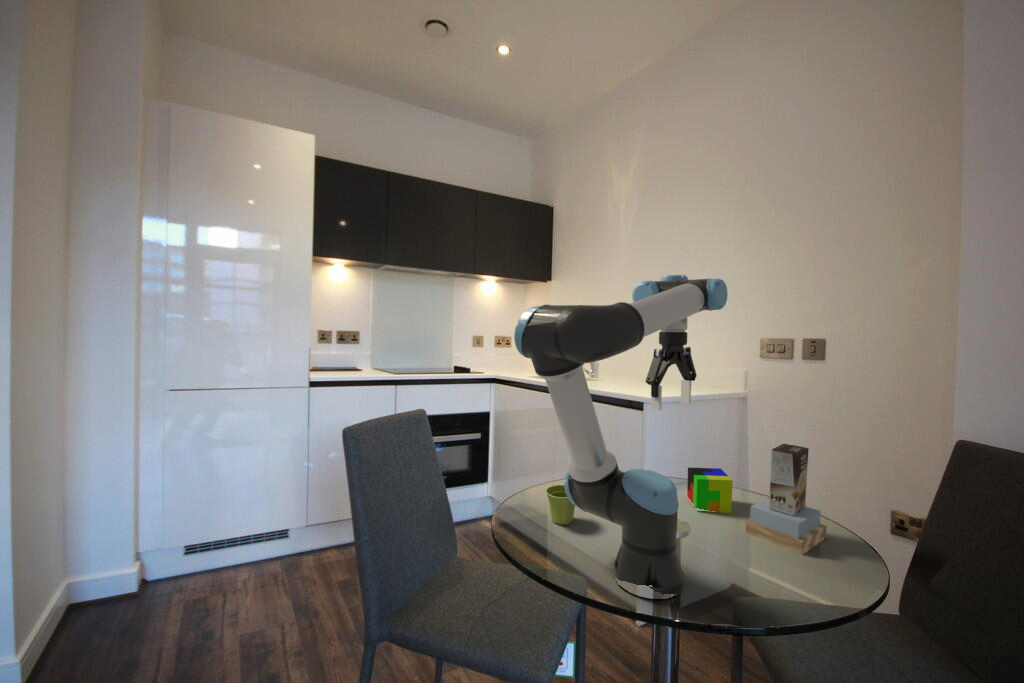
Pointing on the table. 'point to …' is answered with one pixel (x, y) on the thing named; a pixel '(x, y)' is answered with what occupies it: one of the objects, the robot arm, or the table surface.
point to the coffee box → (788, 479)
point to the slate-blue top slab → (785, 519)
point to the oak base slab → (787, 537)
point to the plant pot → (560, 505)
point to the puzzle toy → (710, 489)
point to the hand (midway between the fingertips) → (671, 405)
